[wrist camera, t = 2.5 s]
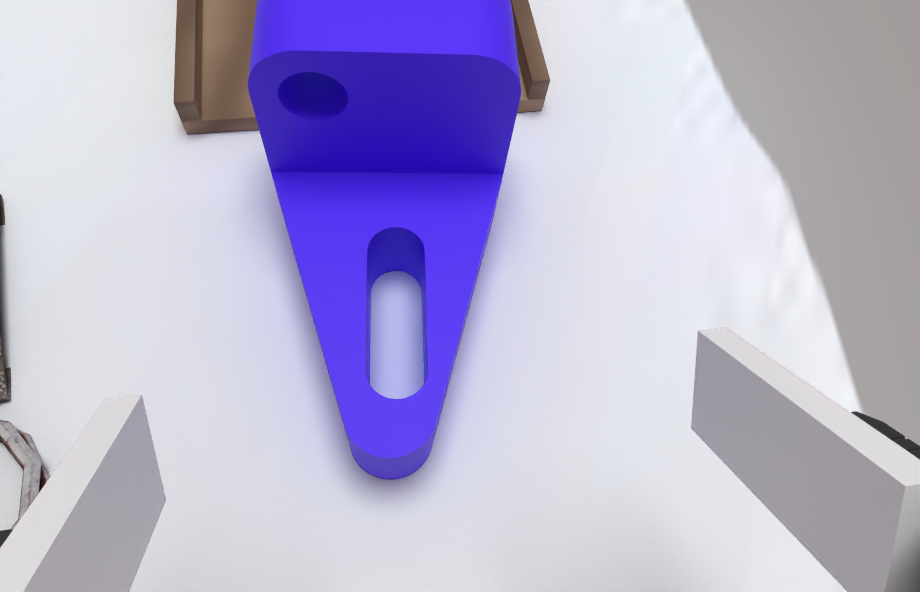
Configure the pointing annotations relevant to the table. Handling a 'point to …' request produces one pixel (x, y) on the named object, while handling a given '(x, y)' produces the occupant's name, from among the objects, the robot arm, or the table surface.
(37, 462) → the keychain
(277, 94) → the bracket
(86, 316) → the table surface
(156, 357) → the table surface
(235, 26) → the walnut stop track
